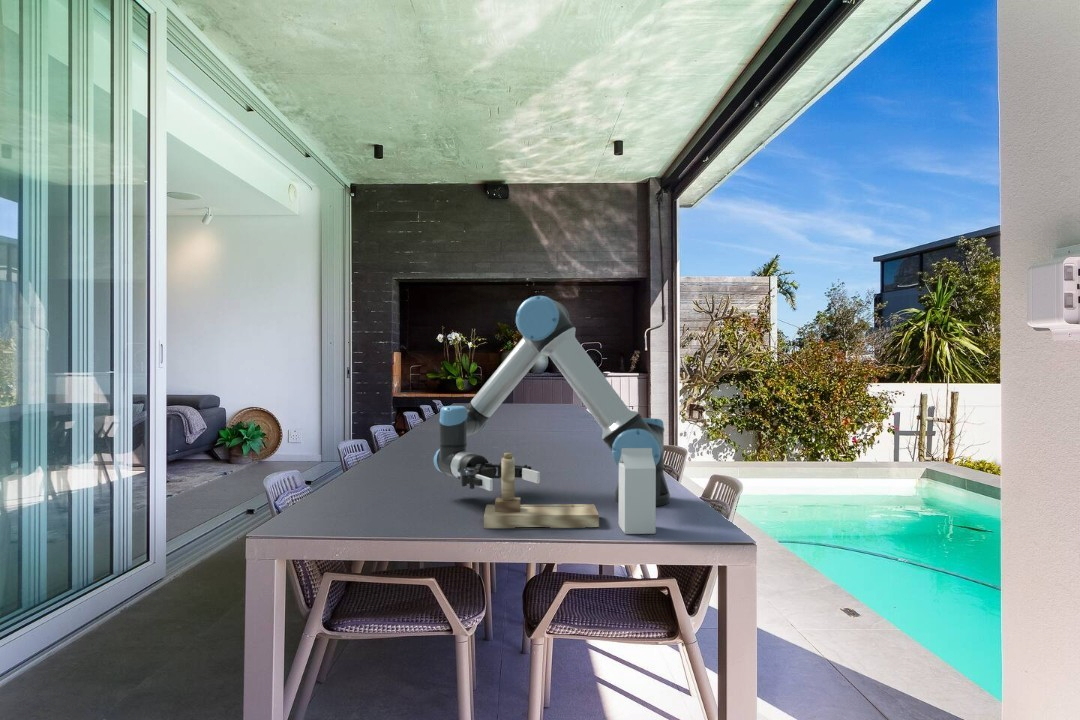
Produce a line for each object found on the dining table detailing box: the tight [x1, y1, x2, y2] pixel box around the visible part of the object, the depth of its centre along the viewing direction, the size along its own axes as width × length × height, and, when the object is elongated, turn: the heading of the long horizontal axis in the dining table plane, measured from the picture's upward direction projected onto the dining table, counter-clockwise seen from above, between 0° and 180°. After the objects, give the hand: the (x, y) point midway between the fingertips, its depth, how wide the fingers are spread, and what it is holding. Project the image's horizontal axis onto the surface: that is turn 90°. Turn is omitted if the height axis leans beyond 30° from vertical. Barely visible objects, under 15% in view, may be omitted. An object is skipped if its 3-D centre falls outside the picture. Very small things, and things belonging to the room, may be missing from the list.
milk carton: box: [618, 448, 657, 535], centre depth 137 cm, size 7×7×19 cm
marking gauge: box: [494, 452, 521, 512], centre depth 143 cm, size 6×4×14 cm, turn 92°
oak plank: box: [483, 503, 600, 529], centre depth 143 cm, size 27×10×3 cm, turn 92°
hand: (515, 481), depth 140 cm, fingers open, 13 cm apart
